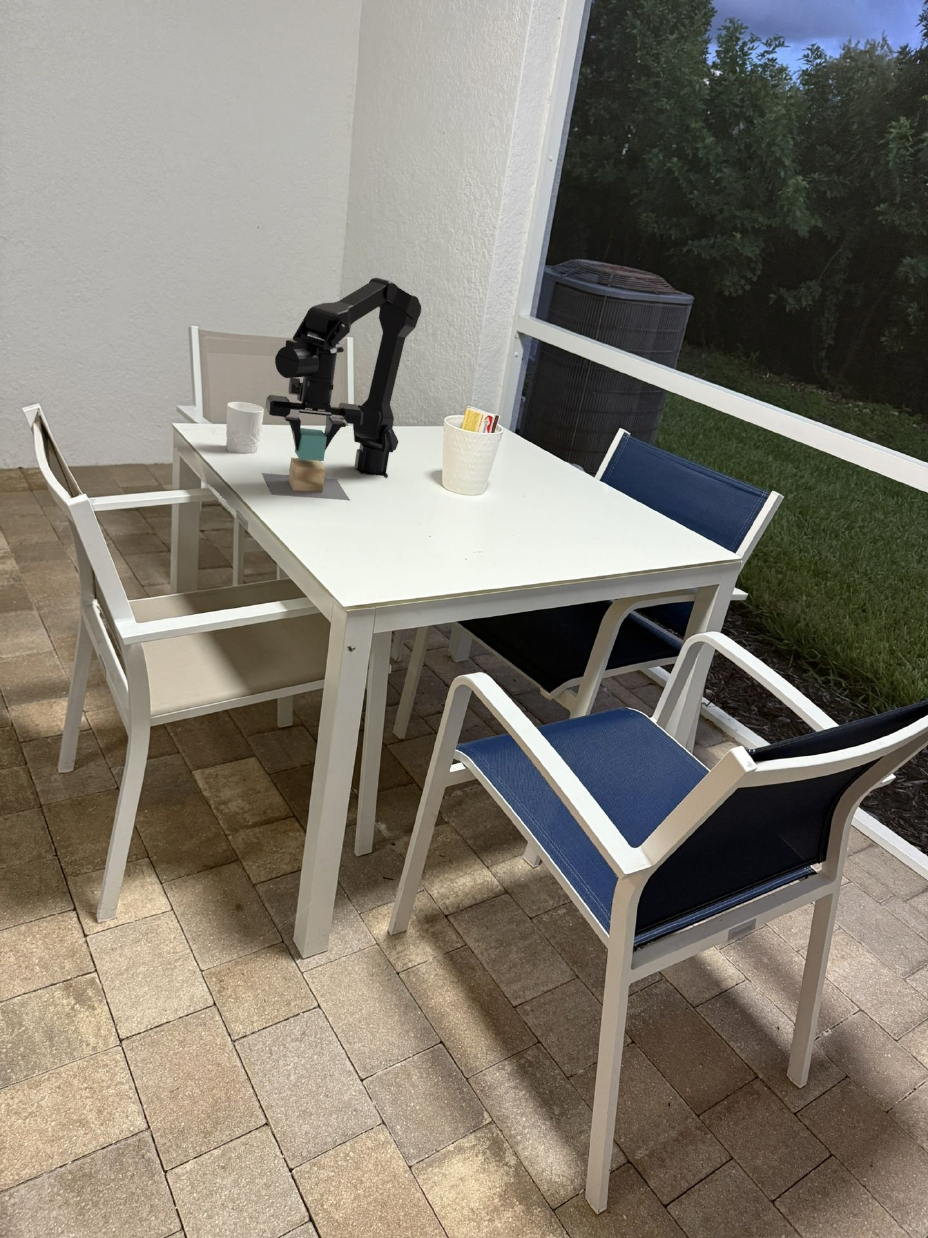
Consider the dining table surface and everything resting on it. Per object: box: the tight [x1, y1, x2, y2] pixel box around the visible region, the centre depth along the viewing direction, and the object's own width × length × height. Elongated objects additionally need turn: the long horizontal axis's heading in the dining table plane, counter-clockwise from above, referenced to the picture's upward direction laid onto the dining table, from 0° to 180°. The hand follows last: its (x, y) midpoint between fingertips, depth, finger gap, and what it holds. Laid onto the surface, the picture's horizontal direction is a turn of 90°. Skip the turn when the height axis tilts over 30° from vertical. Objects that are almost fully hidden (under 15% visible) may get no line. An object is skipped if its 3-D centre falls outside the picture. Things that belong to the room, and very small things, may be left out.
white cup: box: [225, 401, 265, 455], centre depth 202 cm, size 8×8×10 cm
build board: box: [261, 472, 351, 501], centre depth 189 cm, size 16×13×1 cm
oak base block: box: [288, 457, 327, 492], centre depth 188 cm, size 6×6×5 cm
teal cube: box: [294, 427, 327, 462], centre depth 185 cm, size 5×5×5 cm
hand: (309, 451), depth 186 cm, fingers closed on teal cube, 5 cm apart
